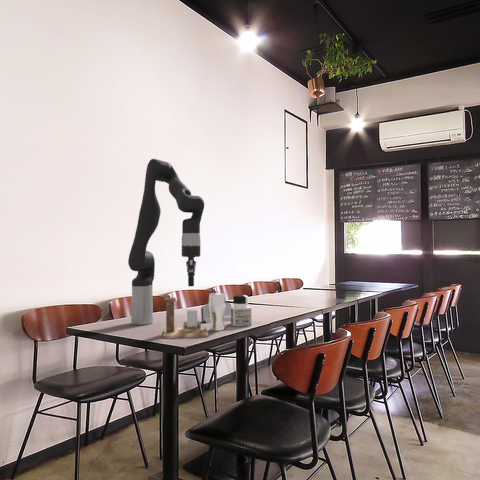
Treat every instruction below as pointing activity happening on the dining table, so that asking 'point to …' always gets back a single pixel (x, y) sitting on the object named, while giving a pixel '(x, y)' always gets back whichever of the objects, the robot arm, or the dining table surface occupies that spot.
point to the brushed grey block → (191, 319)
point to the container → (240, 311)
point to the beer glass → (217, 311)
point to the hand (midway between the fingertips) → (190, 285)
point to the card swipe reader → (207, 318)
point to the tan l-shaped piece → (183, 332)
